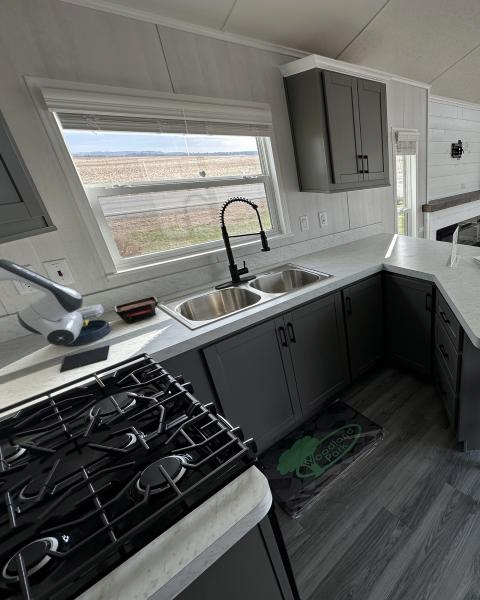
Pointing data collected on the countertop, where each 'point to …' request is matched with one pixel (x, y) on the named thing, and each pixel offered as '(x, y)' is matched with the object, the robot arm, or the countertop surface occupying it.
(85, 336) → the bowl
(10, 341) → the countertop surface
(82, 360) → the drying mat
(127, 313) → the baking dish
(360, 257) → the countertop surface
